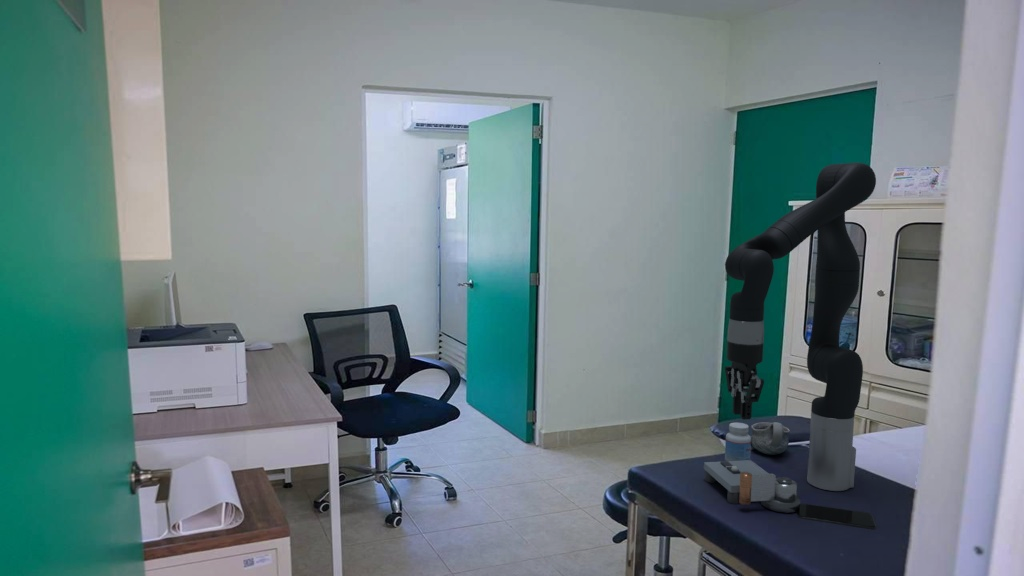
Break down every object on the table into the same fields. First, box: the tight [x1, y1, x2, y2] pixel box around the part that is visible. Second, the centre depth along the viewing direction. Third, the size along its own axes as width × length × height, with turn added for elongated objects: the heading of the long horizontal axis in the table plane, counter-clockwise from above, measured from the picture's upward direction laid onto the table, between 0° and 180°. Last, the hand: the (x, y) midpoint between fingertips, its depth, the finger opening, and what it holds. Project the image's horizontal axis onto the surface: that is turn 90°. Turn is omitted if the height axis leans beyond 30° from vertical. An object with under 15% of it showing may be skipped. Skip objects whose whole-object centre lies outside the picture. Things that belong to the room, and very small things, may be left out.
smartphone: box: [796, 502, 877, 530], centre depth 143 cm, size 7×1×15 cm
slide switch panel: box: [703, 459, 770, 505], centre depth 156 cm, size 12×14×6 cm
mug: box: [750, 421, 791, 456], centre depth 179 cm, size 10×12×10 cm
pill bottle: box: [724, 422, 752, 461], centre depth 169 cm, size 6×6×11 cm
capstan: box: [738, 472, 801, 514], centre depth 147 cm, size 14×8×8 cm, turn 99°
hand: (741, 416), depth 149 cm, fingers open, 3 cm apart
